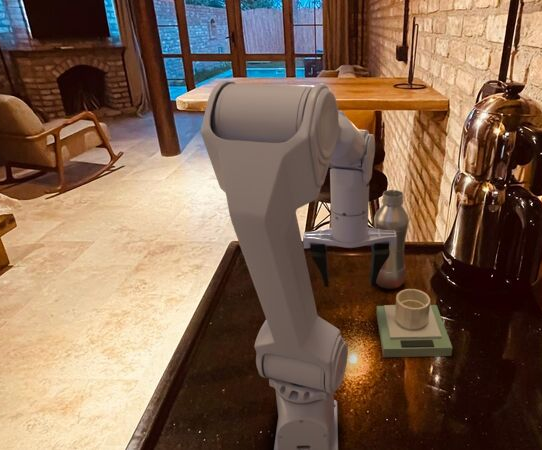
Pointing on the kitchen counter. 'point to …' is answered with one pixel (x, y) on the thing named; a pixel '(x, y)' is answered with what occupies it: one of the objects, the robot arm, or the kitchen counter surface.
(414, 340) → the scale
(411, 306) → the dip bowl
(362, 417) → the kitchen counter surface
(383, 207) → the metal water bottle
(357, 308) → the kitchen counter surface
